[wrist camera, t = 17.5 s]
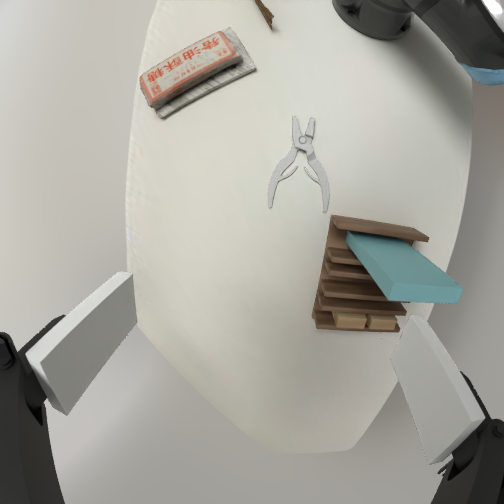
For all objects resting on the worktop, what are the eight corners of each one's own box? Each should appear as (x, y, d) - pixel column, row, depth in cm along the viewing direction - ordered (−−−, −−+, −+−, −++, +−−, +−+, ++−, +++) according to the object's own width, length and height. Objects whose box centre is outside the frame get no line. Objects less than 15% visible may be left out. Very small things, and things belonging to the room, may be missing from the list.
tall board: (347, 230, 43) (393, 282, 24) (399, 237, 42) (463, 288, 24) (345, 241, 44) (388, 300, 25) (397, 248, 43) (457, 303, 24)
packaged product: (150, 117, 36) (129, 72, 34) (162, 120, 41) (142, 78, 38) (255, 60, 32) (227, 16, 30) (257, 70, 37) (231, 29, 34)
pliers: (266, 208, 43) (271, 114, 38) (267, 206, 44) (271, 115, 39) (328, 213, 42) (335, 119, 37) (326, 211, 44) (333, 121, 39)
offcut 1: (332, 299, 47) (339, 317, 42) (358, 301, 47) (367, 318, 41) (330, 308, 48) (336, 327, 42) (355, 310, 48) (363, 328, 42)
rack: (331, 214, 43) (339, 223, 38) (413, 228, 43) (429, 237, 37) (311, 315, 50) (315, 334, 44) (386, 320, 49) (396, 337, 43)
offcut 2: (363, 301, 47) (372, 319, 41) (386, 303, 47) (397, 320, 41) (360, 311, 48) (369, 329, 42) (383, 312, 47) (393, 329, 42)
